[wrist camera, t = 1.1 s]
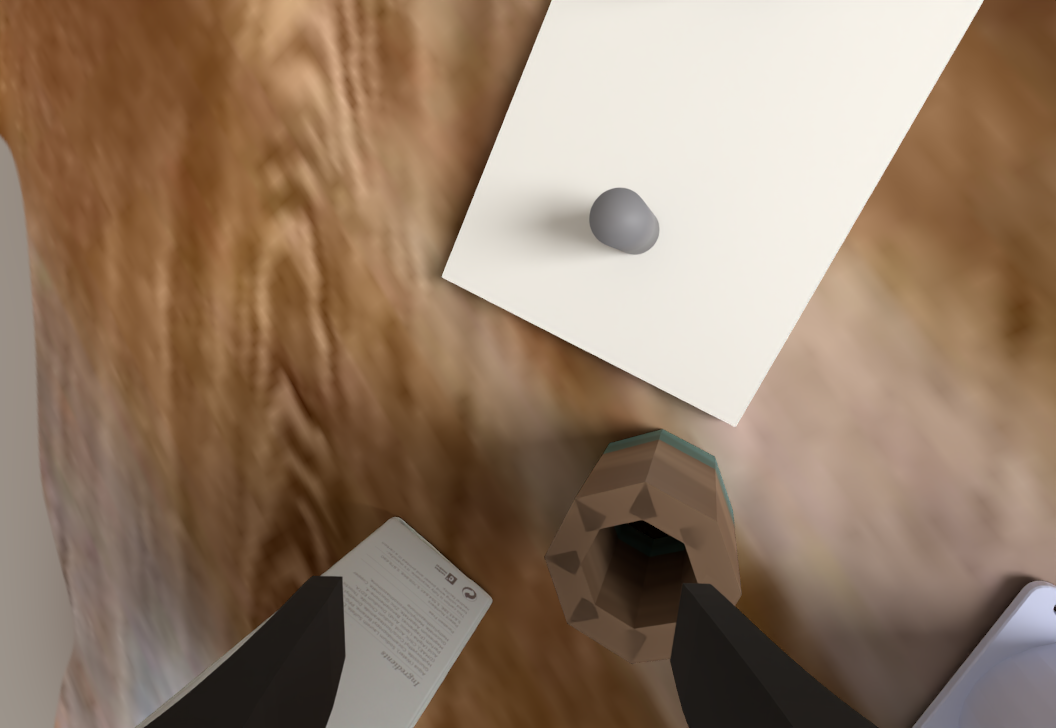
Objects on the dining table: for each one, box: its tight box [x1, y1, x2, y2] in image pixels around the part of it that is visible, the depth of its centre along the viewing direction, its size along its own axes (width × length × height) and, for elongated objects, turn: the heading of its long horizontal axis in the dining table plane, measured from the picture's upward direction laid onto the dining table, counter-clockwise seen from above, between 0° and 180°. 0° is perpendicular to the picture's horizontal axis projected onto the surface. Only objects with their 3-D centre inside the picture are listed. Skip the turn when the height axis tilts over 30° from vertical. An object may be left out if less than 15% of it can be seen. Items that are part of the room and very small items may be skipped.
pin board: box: [442, 0, 984, 427], centre depth 17 cm, size 12×18×5 cm, turn 156°
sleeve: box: [545, 429, 742, 664], centre depth 19 cm, size 5×5×6 cm
